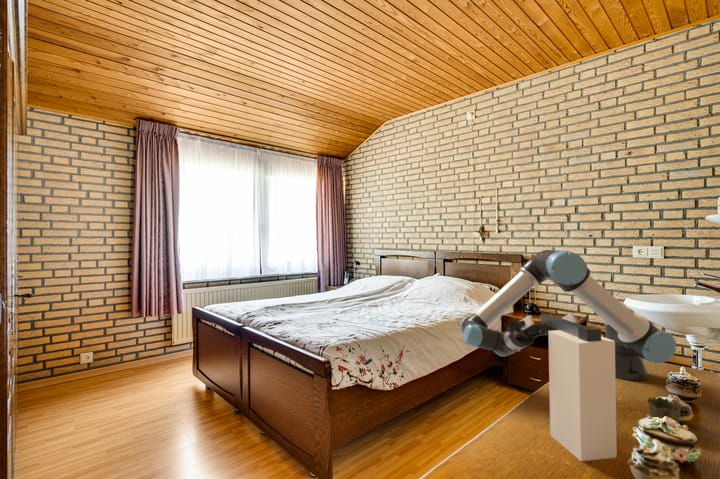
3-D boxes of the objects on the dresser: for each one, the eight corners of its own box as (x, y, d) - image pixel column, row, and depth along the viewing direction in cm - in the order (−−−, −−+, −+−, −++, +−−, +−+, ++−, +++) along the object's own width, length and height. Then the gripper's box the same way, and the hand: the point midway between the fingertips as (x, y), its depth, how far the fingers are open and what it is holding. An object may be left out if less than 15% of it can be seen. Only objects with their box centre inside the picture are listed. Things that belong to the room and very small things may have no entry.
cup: (642, 426, 106) (641, 399, 106) (657, 421, 109) (656, 394, 109) (672, 439, 100) (671, 410, 100) (687, 433, 103) (686, 405, 102)
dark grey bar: (550, 322, 113) (550, 312, 112) (601, 340, 93) (600, 328, 93) (538, 322, 112) (538, 313, 112) (586, 341, 92) (586, 329, 92)
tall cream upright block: (582, 432, 104) (580, 328, 104) (616, 457, 92) (614, 340, 92) (550, 435, 103) (548, 330, 103) (581, 461, 91) (578, 343, 91)
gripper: (556, 345, 126) (595, 328, 108) (488, 350, 123) (517, 333, 105) (548, 324, 130) (586, 304, 111) (482, 328, 127) (509, 308, 108)
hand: (552, 318), depth 108 cm, fingers open, 13 cm apart
